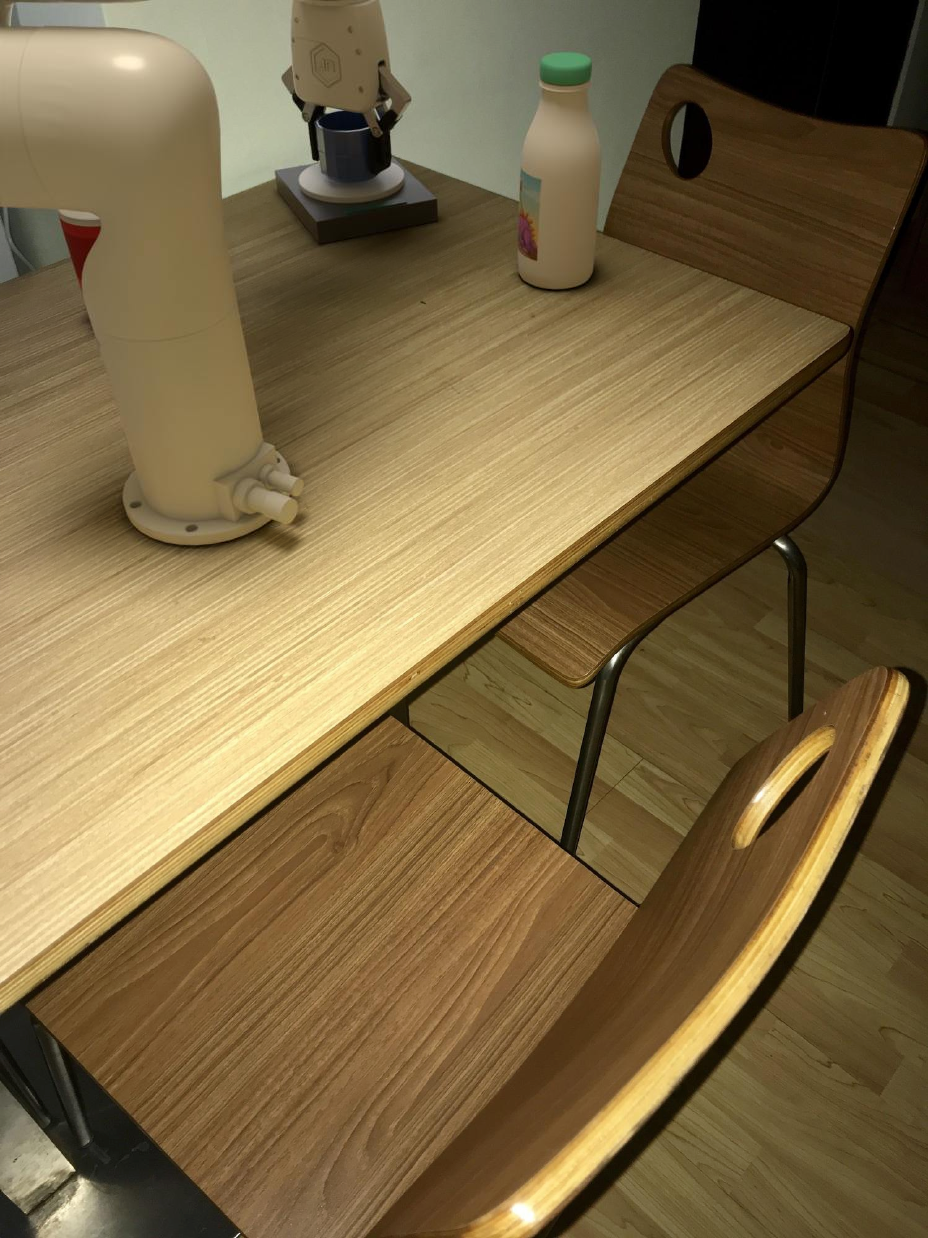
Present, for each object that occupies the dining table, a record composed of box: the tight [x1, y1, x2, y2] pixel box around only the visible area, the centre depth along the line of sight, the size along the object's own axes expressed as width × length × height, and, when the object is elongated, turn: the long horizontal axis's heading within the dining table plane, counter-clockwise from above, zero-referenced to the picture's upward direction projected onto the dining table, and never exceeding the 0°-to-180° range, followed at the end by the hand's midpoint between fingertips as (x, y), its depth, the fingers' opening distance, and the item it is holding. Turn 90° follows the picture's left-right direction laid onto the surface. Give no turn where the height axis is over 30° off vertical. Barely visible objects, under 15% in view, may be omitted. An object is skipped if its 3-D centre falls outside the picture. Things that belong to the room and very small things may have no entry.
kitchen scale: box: [274, 156, 439, 245], centre depth 114 cm, size 16×14×3 cm
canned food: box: [56, 209, 101, 299], centre depth 93 cm, size 8×8×11 cm
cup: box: [314, 109, 380, 183], centre depth 110 cm, size 7×7×6 cm
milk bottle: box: [517, 51, 602, 290], centre depth 95 cm, size 8×8×20 cm
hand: (351, 162), depth 111 cm, fingers closed on cup, 7 cm apart
